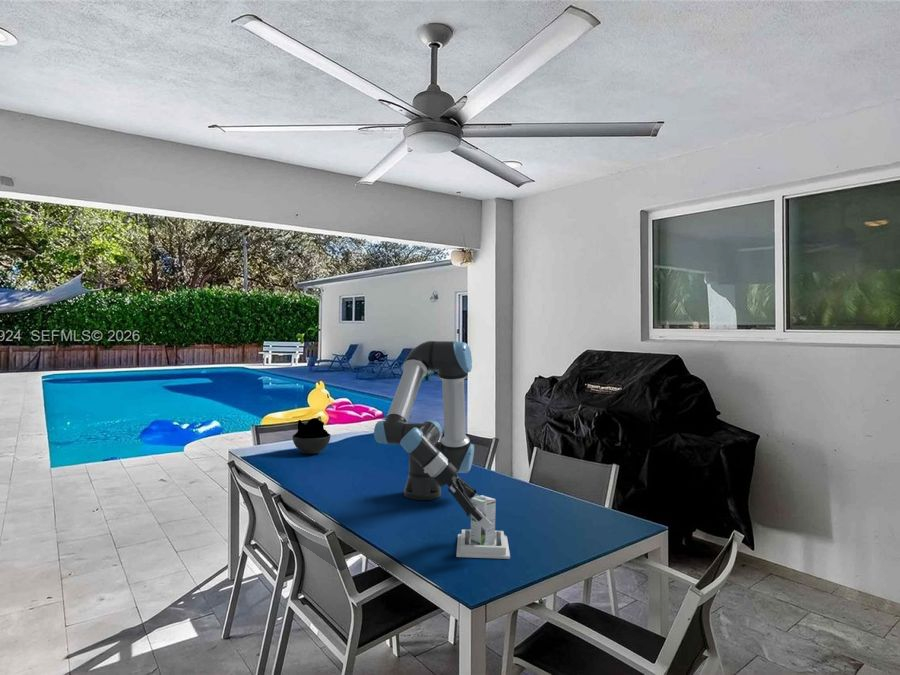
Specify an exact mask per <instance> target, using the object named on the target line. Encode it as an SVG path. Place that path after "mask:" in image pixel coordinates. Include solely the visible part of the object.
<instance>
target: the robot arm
mask: <svg viewBox="0 0 900 675" xmlns="http://www.w3.org/2000/svg"><path fill="white" fill-rule="evenodd" d="M472 368H473V357H472V351H471V348H470V346H469V345H468V343H466V342H463V341H456V340H455V341H453V340H451V341H450V340H449V341H443V340H442V341H439V340H428V341H425V342H422V343H420V344H419V345H417V346H415V347H414V348H413V349H412V350H411V351H410V352H409V354H408V355H407V356H406V357H405V359H404V362H403V365H402V370H403V373H402V375H401V378H400V380H399V383H398V385H397V389H396V391H395V394H394V396H393V399H392V401H391V404H390V407H389V409H388V411H387V415H386V418H385V419H384V420H378V421H377V422H376V423H375V426H374V428H373V429H374V430H373V436H374V441H376V442H377V443H379V444H385V445H400V446H401V447H402V448H403V450H404V451H405V452H406V453H407V454H408V477H407V481H406V482H405V485H404V486H405V487H404V488H403V489H404V491H403V495H404V497H406V498H408V499H410V500H413V501H431V500H435V499H438V498H440V497H441V496H442V490H441V487H444V486H445V485H447V486H448V488H447V490H448V492H449V493H450V494H451V495H452V496H453V498H454V499H455V500H456V502H458V504H459V506H461V508H462V509H463V511H464V512H465V514H466V516H467V517H469V516H470V517H471V516H472V517H473V518H474V519H475V520H476V521H477V522H478V523H479V525H480V526H481V527H482V528H483V529H484V530H486V529H487V528H488V527H489V526H490V525H491V522H490V521H489V520H488V519H487V518H486V517H485V516H484V515H483V514H482V513H481V512H480V511H479V510H478V509H477V508H475V507H474V505H473V504H472V502H471V499H472V498H474V497H476V496H479V494H477V493H478V491H477V490H476V489H474V488H473V487H471V486H470V485H469V484H468V482H466V481H464V479H462V478H461V477H460V476H459V475H457V474H467V473H469V472H470V470H471V469H472V465H473V461H474V457H475V456H474V455H475V444H473V443H470V442H471V441H470V437H469V436H467V435H466V431H467V430H466V406H465V405H466V402H465V401H466V399H465V379H466V378H467V377H468V374H469V373H470V372H472ZM430 371H431V372H437V377H438V379H440V380H442V382H441V383H442V386H441V387H442V388H441V389H442V409H443V429H442V426H441V425H440V423H439V422H437V421H436V420H434V419H427V420H425V421H424V422H423V423H420V422H408V421H409V418H410V415H411V412H412V409H413V406H414V403H415V401H416V398H417V395H418V393H419V390H420V386H421V383H422V381H423V378H424V377H426V375H427V374H428V372H430ZM442 432H443V433H444V434H443V435H444V436H443V437H442V438H441V436H442ZM439 440H440V441H439Z"/></svg>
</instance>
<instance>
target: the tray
mask: <svg viewBox="0 0 900 675" xmlns="http://www.w3.org/2000/svg"><path fill="white" fill-rule="evenodd" d="M470 536H471V529H461V533H457V543H456V558H474V559H477V558H479V559H499V560H501V559H504V560H510V559H511V552H510V548H509V546H510V545H509V541H508V536H507V535H505V533H504V530H495V544H493V545H491V546H486V545H473V544H470Z"/></svg>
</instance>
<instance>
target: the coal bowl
mask: <svg viewBox="0 0 900 675" xmlns="http://www.w3.org/2000/svg"><path fill="white" fill-rule="evenodd" d="M297 421H298V422H297V431H296V433H294V434H293V435H292V441H293V444H294V446H295V448H296V449H297V450H298V451H300V453H301V452H302V453H304V454H308V455H314V454H318V453H320V452H323V450H324V449H326V448H327V446H328V445H329V443H330V441H331V434H330V433H329V432H328V431H327V430H326V429H324V428H325V427H324V426H325V422H324V421H322V420H319V419H318V418H315V417H313V418H311V419H309V420H308V421H307V423H306V424H305V423H303V422H302V419H298V420H297Z"/></svg>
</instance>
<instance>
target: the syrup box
mask: <svg viewBox="0 0 900 675" xmlns="http://www.w3.org/2000/svg"><path fill="white" fill-rule="evenodd" d="M470 499H471V498H470ZM471 502H472V504H473V505H474V507H475V508H477V509H478V510H479V511H480V512H481V513H482V514H483V515H484V516H485V517H486V518H487V519H488V520H489V521H490V522H491V525H490V526H489V527H488V528H487V529H486V530H484V529H483V528H482V527H481V526H480V525H479V523H478V522H477V521H476V520H475V519H474V518H473V517H472V516H471V515H470V530H471V536H470V544H473V545H486V546H491V545H493V544H495V531H496V503H497V500H496V498H493V497H489V496H486V495H483V494H482V495H478V496H476V497H474V498H472V499H471Z"/></svg>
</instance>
